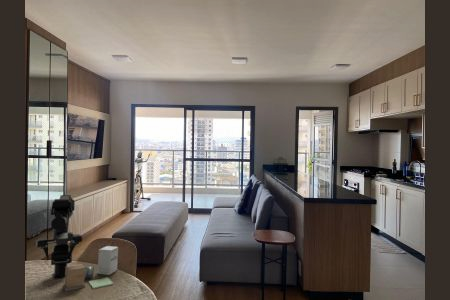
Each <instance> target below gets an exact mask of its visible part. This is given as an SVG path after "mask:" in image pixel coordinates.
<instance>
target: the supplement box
mask: <svg viewBox="0 0 450 300" xmlns="http://www.w3.org/2000/svg"><path fill="white" fill-rule="evenodd" d="M97 255H98V256H97V257H98V258H97V259H98V260H97V274H99V275H106V276H107V275H108V276H109V275H112V274H113V273H114V272H117V271H116V270H118V259H119V247H118V246H113V245H112V246H111V245H106V246H104V247H102V248H99V249H98V254H97Z"/></svg>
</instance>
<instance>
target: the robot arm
mask: <svg viewBox="0 0 450 300" xmlns="http://www.w3.org/2000/svg"><path fill="white" fill-rule="evenodd" d="M75 207H76V203H75V200H74V199H73V198H72V195H71V194H61V195H60V197H59V198H58V199H57V198H55V199H54V200H53V201H52V204H51V210H50V215H51V216H53V215H54V216H53V219H52V220H51V222H50V223H51V224H50V226H51V228H52V230H53V233H52V234H53V235H52V238H51V239H50V238H49V239H48V238H47V237H41V238H40V237H39V238H37V239H36V240H35V245H36V247H37V248H39V249H41V250H43V251H44V254H45V255H44V256H45V258H46V260H47V261H49V247H48V245H50V244H56V245H54V247H53V252H51V257H50V259H51V260H50V264H51V265H50V266H54V267H53V268H54V269H53V270H54V271H53V272H54V273H53V272H52V277H53V279H57V278H65V271H66V266H68V264H71V263H72V262H73V251H74V250H75V247H76V246H77V245H79V244H80V243H81V242H83V236H82V235H81V234H80V233H77V234H74V232H72V231H71V232H70V231H69V226H70V224H69V223H70V219H71V217H72V216H73V213H74V211H75V209H76V208H75ZM69 242H70V243H69ZM68 244H69V245H68Z"/></svg>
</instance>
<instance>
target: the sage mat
mask: <svg viewBox="0 0 450 300" xmlns="http://www.w3.org/2000/svg"><path fill="white" fill-rule="evenodd" d="M88 285H90V287H91V286H92V287H91V288H92V289H93V290H94V289H99V288H103V287H104V288H105V287H108V286H113V285H114V282H113V281H112V280H111V279H110V278H109V277H103V278H99V279H93V280H89V281H88Z"/></svg>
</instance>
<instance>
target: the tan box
mask: <svg viewBox="0 0 450 300" xmlns="http://www.w3.org/2000/svg"><path fill="white" fill-rule="evenodd" d="M85 267H86V266H84V265H83V263H79V264H74V265H67V266H66V271H65V277H64V283H63V285H62V287H63V288H64V290H65V292H69V291H74V290H80V289H84V288H86V284H85V279H84V274H85Z"/></svg>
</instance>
